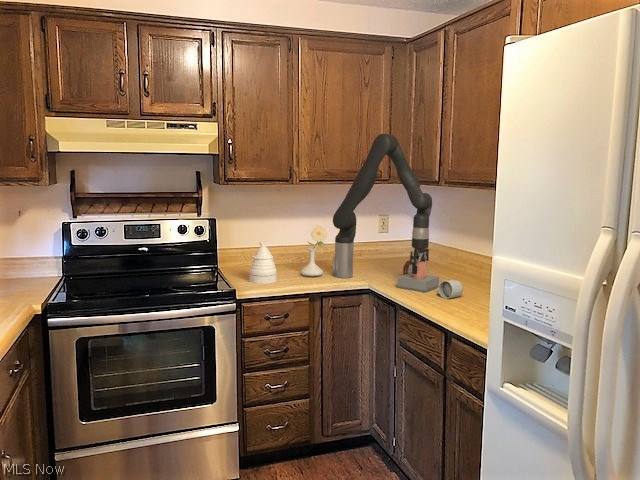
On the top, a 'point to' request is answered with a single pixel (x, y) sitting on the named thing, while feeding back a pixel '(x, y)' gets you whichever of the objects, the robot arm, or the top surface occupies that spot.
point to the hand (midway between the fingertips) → (418, 272)
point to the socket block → (418, 283)
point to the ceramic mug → (450, 289)
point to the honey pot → (263, 267)
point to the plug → (420, 270)
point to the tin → (407, 268)
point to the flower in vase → (312, 268)
